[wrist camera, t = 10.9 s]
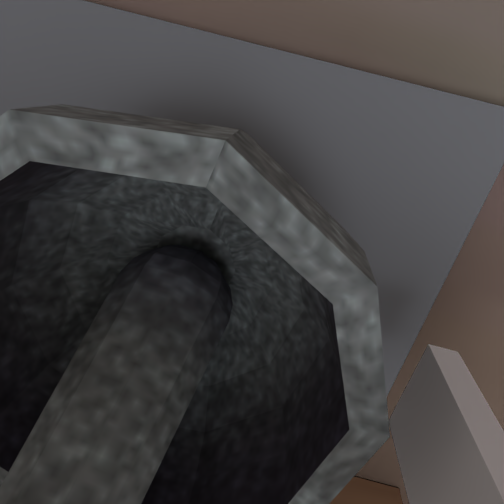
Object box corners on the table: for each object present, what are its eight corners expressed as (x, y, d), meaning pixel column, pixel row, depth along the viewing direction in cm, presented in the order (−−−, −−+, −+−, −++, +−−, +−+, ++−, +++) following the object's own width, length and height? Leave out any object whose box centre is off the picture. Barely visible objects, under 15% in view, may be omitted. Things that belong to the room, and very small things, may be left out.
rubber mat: (354, 435, 17) (357, 454, 17) (9, 343, 18) (-7, 357, 17) (511, 110, 12) (528, 113, 11) (-5, -20, 12) (-30, -29, 11)
